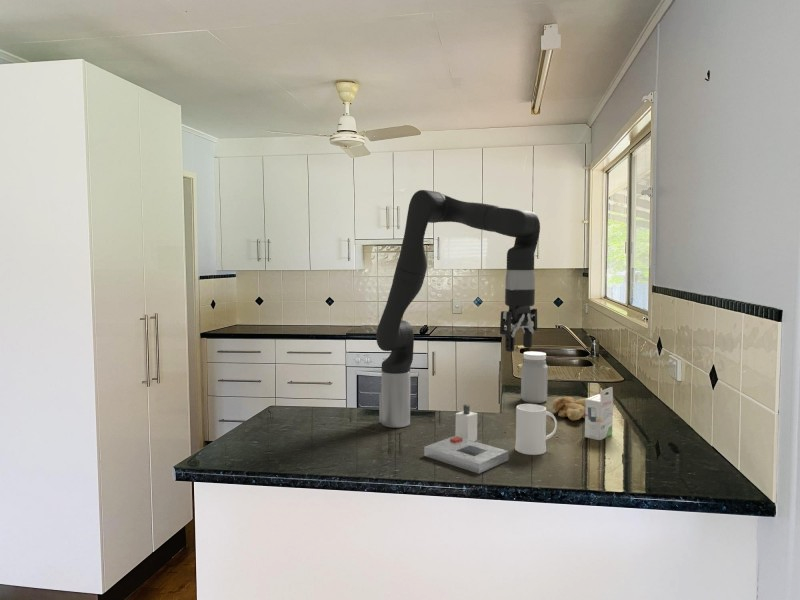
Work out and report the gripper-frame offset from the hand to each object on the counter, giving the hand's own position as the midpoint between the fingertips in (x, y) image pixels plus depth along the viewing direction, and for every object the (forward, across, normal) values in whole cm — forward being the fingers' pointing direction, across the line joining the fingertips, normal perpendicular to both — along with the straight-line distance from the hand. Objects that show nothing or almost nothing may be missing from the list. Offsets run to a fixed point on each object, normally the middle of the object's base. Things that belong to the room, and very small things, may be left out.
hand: (518, 349), depth 145 cm
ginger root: (+30, -48, -9) cm, 57 cm away
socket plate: (+29, +9, -10) cm, 32 cm away
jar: (+30, -58, -29) cm, 71 cm away
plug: (+29, -3, -19) cm, 35 cm away
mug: (+30, -10, 0) cm, 31 cm away
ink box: (+30, -34, +7) cm, 45 cm away
